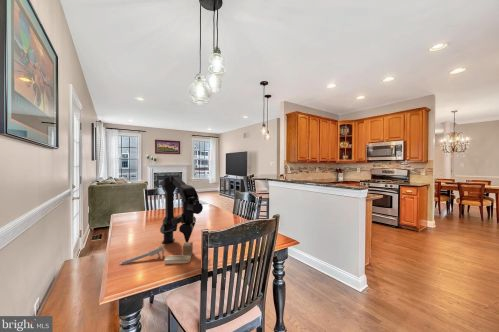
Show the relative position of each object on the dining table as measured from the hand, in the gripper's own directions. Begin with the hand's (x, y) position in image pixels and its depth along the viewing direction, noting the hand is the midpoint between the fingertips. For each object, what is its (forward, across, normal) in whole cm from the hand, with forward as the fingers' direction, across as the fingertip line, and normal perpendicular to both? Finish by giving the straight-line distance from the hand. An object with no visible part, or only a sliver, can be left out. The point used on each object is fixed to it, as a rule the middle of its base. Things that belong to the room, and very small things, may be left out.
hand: (188, 239), depth 113 cm
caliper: (+9, +3, -22) cm, 24 cm away
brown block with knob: (+9, 0, 0) cm, 9 cm away
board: (+9, +7, -4) cm, 12 cm away
